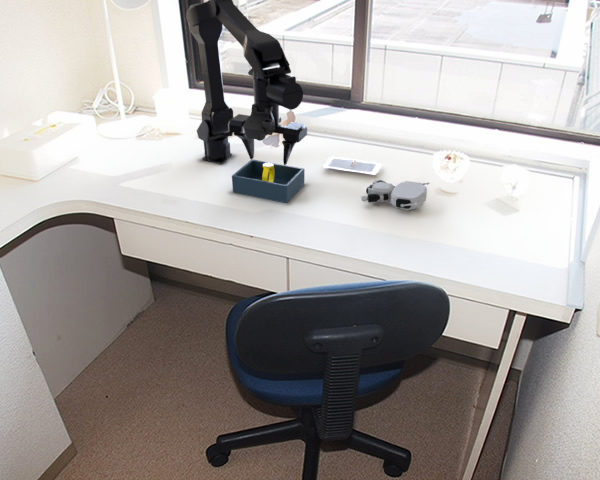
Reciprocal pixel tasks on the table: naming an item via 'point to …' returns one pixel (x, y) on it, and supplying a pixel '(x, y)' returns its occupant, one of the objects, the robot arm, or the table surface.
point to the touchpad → (352, 165)
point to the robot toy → (397, 194)
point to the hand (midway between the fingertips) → (268, 161)
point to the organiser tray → (280, 190)
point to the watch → (269, 168)
